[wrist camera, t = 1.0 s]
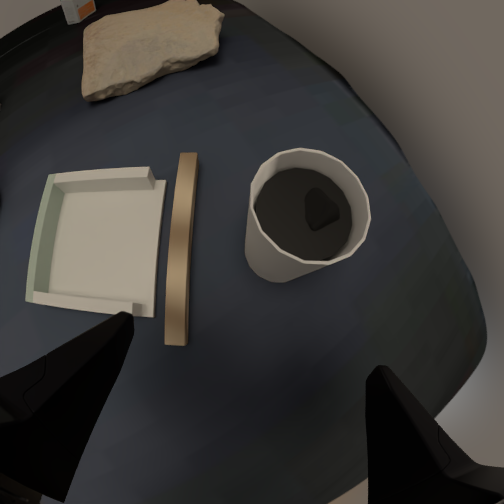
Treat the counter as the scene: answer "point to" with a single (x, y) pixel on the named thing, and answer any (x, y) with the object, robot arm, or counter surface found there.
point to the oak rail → (180, 251)
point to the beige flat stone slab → (146, 46)
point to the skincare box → (77, 10)
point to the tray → (98, 241)
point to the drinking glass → (303, 214)
